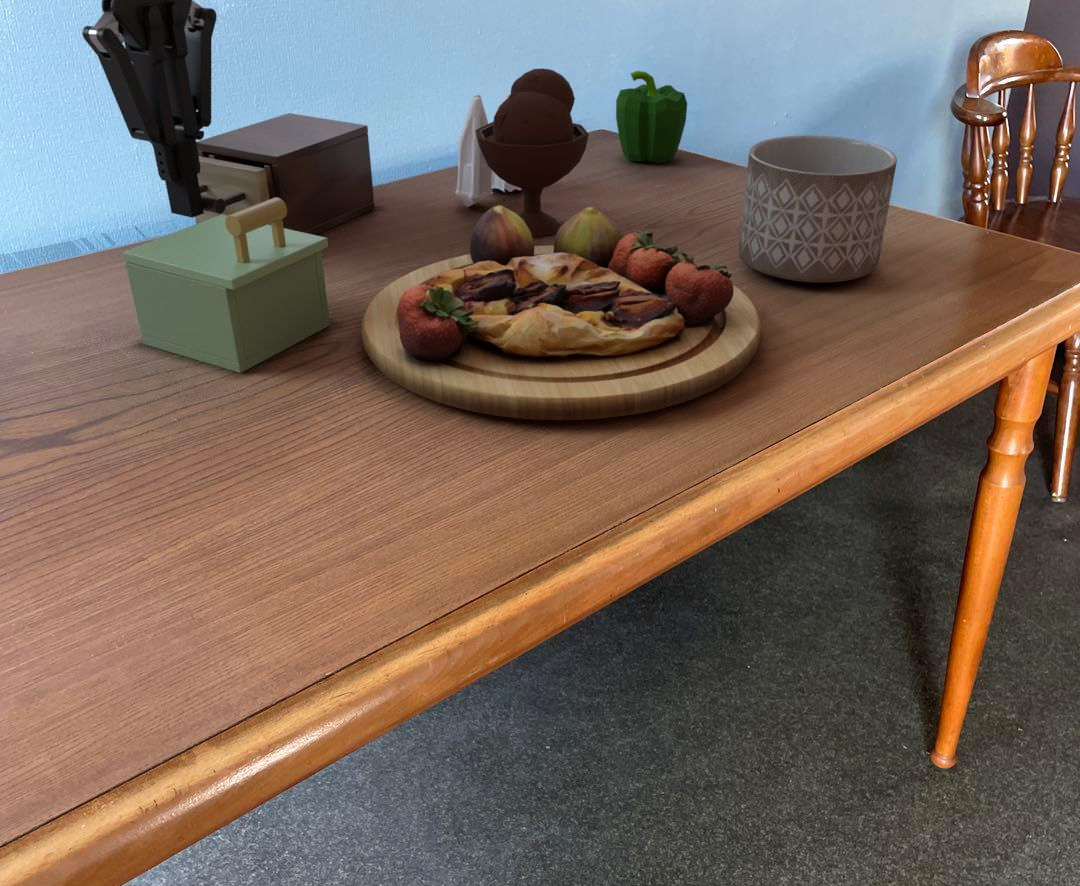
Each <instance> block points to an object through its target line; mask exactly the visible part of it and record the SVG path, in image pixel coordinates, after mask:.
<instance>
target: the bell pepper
mask: <svg viewBox="0 0 1080 886" xmlns="http://www.w3.org/2000/svg"><path fill="white" fill-rule="evenodd" d="M630 77H631V79H632V81H633V82H636V81H637V80H642V81H643V82H645V83H643V84H641V85H639V86H636V87H635V88H632V87H630V88H624V89H620V90H619V93H618V95H617V97H616V100H615V102H616V103H615V119H616V126H617V133H618V138H619V143H620V147H621V151H622V154H623V155H624V157H625V158H626V159H627V160H629V161H630V162H652V163H666V162H670V161H671V160H672V159H673V158H674V157H675V155H676V154H677V153H678V150H679V147H680V144H681V140H682V136H683V133H684V129H685V126H686V121H687V112H688V101H687V98H686V95H685V93H684V92H682V91H679V90H677V89H676V88H675V87H674V86H672V85H671V84H669V85H667V84H666V85H662V86H660V87H658V88H657V86H656V83H655V79H654V77H653V75H651V74H650V73H648V72H647V71H643V70H635V71H633V72H630Z"/></svg>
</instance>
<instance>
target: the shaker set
mask: <svg viewBox="0 0 1080 886" xmlns="http://www.w3.org/2000/svg"><path fill="white" fill-rule="evenodd" d="M510 94H511V93H510ZM510 94H506V95H505V96H504V98H503V101H502V103H503V102H504V101H505V100H506V99H507V98H508V97H509V95H510ZM487 124H489V120H488V116H487V114H486V110H485V107H484V104H483V99H482V96H481V95H480V94H477V93H476V94H474V95H473V96H472V98H471V100H470V103H469V106H468V109H467V112H466V115H465V118H464V122H463V125H462V128H461V130H460V134H459V137H458V138H459V139H458V158H457V160H458V161H457V178H456V179H457V181H456V190H454V193H455V195H456V197H457V198H458V199H459V201H461V203H462V204H463V205H464V206H465V207H466V208H469V207H471V206H473V205H474V204H476V203H478V202H480V201H482V200H484V199H486V198H488V197H490V196H492V195H493V194H494V192H493V190H494V189H496V190H497V189H498V190H500V191H502V193H506V191H507V192H509V193H510V192H513V191H515V190H517V191H522V190H521V188H519V187H516V186H513V185H510V184H508V183H507V182H505V181H504V180H502V179H501V178H499V177H498V176H497V175H496V174H495V173H494V172H493V171H492V170H491V169H490V168H489V167H488V165H487V163H486V160H485V158H484V156H483V154H482V152H481V150H480V148H479V145H478V141H477V136H476V131H475V130H477V129H479V128H481V127H483V126H485V125H487ZM505 190H506V191H505Z"/></svg>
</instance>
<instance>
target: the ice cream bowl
mask: <svg viewBox="0 0 1080 886" xmlns="http://www.w3.org/2000/svg"><path fill="white" fill-rule="evenodd" d="M574 94H575V93H574V90H573V88H572V87H571V84H570V82H569V81H568V80H567V79H566V78H565V77H564V75H562V74H560V73H559V72H557V71H556V70H553V69H551V68H550V69H549V68H533V69H531V70H529V71H526V72H525V73H523V74H522V75H521V76H520V77H518V78H517V79H515V80H514V82H513V83H512V85H511V87H510V95H509V97H508V98H507V99H506V100H505V101H504V102H503V101H502V103H501V104H500V105H499V106H498V108H497V109H496V111H495V114H494V116H493V121H492V122H488V124H487V125H485V126H483V127H481V128H479V129H477V130H475V131H476V136H477V141H478V145H479V148H480V150H481V152H482V154H483V156H484V158H485V160H486V163H487V165H488V167H489V168H490V169H491V170H492V171H493V172H494V173H495V174H496V175H497V176H498V177H499V178H501V179H502V180H504V181H505V182H507V183H508V184H510V185H513V186H516V187H519V188H521V190H520V191H521V192H522V195H523V209H522V211H520V212H519V213H517V215H518V216H520V217H521V218H522V219H523V220H524V222H525V223H526V225H527V227H528V228H529V230H530V232H531V234H532V237H534V238H538V237H544V236H549V235H553V234H555V233H557V231H558V229H559V228H560V226H559V223H558V221H557V219H556V218H555V217H553V216H552V215H549V214H548V213H546V212H544V211H543V210H542V203H541V202H542V201H541V200H542V199H541V196H542V193H543V191H544V189H546V188H548V187H551V186H552V185H554V184H555V183H557V182H559V181H560V180H562V179H563V178H565V177H566V176H567V175H569V174H570V173H571V172H572V171H573V170H574V169H575V167H577V166H578V164H580V162H581V160H582V158H583V156H584V153H585V152H586V150H587V144H588V141H589V140H588V139H589V135H590V134H589V132H588V131H587V130H586V129H585V127H583V125H582V124H579V123H574V122H573V118H572V115H571V113H572V111H573V108H574V105H575V100H576V97H575V95H574Z"/></svg>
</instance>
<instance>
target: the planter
mask: <svg viewBox="0 0 1080 886" xmlns="http://www.w3.org/2000/svg"><path fill="white" fill-rule="evenodd" d="M897 162H898V157H897V156H896V154H895V153H894V152H892V151H891V150H890V149H888V148H886V147H883V146H881V145H878V144H876V143H873V142H869V141H866V140H865V141H864V140H861V139H854V138H849V137H840V136H831V135H811V134H810V135H788V136H787V135H786V136H779V137H773V138H772V137H771V138H768V139H765V140H764V139H763V140H762V141H759V142H756V143H755V144H753V145H752V146H751V147H750V148H749V150H748V161H747V170H746V178H745V179H746V180H745V188H744V189H745V190H744V198H743V209H742V218H741V227H740V238H739V246H738V247H739V248H738V255H739V258H740V259H741V260H742V262H743V263H744V264H746V266H748V267H750V268H751V269H753V270H754V271H757V272H759V273H762V274H764V275H767V276H771V277H774V278H778V279H783V280H788V281H792V282H793V281H794V282H802V283H819V284H820V283H821V284H822V283H823V284H824V283H840V282H847V281H851V280H857V279H859V278H863V277H865V276H867V275H870V274H871V273H873V272H874V271H875V269H876V268H877V267H878V265H879V263H880V258H881V253H882V252H881V251H882V246H883V241H884V235H885V231H886V230H885V229H886V224H887V220H888V213H889V207H890V203H891V196H892V190H893V185H894V179H895V173H896V167H897Z"/></svg>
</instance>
